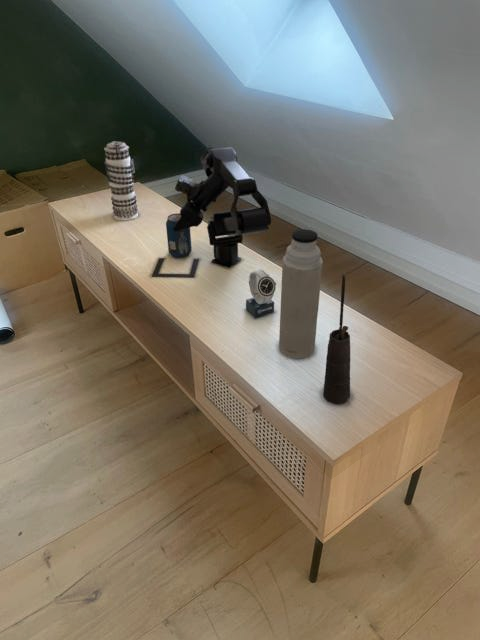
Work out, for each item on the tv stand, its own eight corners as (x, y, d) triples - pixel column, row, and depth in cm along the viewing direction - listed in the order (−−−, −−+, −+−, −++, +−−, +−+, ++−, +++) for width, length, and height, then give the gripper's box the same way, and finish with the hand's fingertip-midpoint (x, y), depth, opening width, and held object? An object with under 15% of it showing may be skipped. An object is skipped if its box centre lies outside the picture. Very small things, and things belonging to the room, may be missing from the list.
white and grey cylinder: (111, 212, 179) (100, 140, 165) (137, 209, 182) (128, 138, 168) (114, 222, 172) (102, 148, 158) (141, 218, 175) (131, 145, 160)
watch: (258, 322, 121) (259, 283, 115) (242, 306, 127) (242, 268, 121) (278, 316, 123) (280, 277, 117) (261, 301, 129) (262, 263, 123)
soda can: (178, 247, 156) (175, 210, 149) (196, 252, 153) (194, 215, 146) (164, 256, 151) (160, 218, 144) (182, 261, 148) (179, 223, 141)
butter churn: (334, 370, 106) (349, 251, 90) (371, 394, 100) (394, 270, 84) (304, 390, 101) (314, 267, 85) (341, 415, 95) (359, 289, 79)
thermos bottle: (271, 349, 112) (275, 234, 96) (292, 333, 117) (298, 221, 102) (301, 363, 108) (310, 246, 92) (321, 346, 113) (333, 231, 97)
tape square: (159, 258, 149) (158, 258, 149) (198, 259, 149) (198, 258, 149) (151, 276, 140) (151, 276, 140) (194, 277, 140) (194, 276, 140)
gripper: (195, 157, 144) (161, 193, 151) (186, 177, 129) (148, 217, 136) (223, 184, 148) (189, 218, 155) (217, 207, 133) (179, 244, 140)
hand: (176, 224), depth 146 cm, fingers open, 9 cm apart
